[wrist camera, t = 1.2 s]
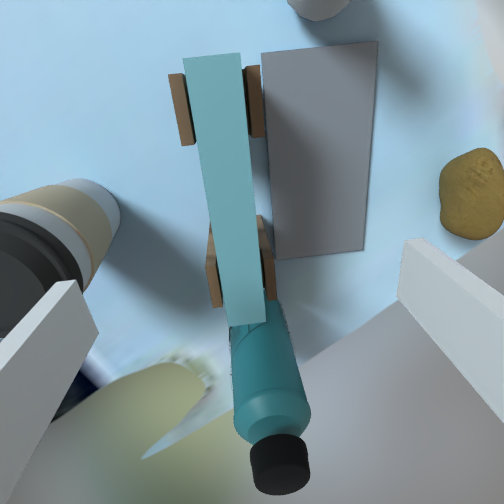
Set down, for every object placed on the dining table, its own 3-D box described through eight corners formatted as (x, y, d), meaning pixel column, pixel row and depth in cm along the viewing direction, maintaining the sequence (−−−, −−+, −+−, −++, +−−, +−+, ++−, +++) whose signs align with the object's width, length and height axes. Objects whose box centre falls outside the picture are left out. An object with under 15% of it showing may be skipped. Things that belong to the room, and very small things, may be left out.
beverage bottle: (233, 277, 36) (242, 452, 18) (286, 284, 37) (344, 456, 19) (223, 320, 39) (223, 509, 21) (274, 326, 40) (314, 510, 22)
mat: (275, 258, 35) (276, 260, 35) (261, 53, 26) (261, 53, 26) (360, 247, 36) (362, 249, 35) (375, 41, 27) (378, 40, 26)
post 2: (215, 253, 34) (213, 308, 26) (210, 220, 33) (205, 266, 24) (263, 247, 35) (277, 299, 26) (260, 214, 33) (273, 258, 24)
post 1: (194, 130, 29) (181, 146, 20) (186, 82, 27) (167, 74, 18) (252, 124, 29) (264, 136, 20) (247, 75, 27) (259, 64, 18)
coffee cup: (116, 161, 29) (25, 214, 16) (142, 245, 33) (89, 344, 20) (21, 174, 29) (-152, 240, 16) (59, 257, 33) (-51, 365, 20)
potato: (439, 229, 36) (493, 262, 28) (397, 192, 33) (444, 218, 26) (490, 180, 33) (562, 203, 26) (448, 136, 31) (516, 148, 24)
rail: (227, 297, 28) (228, 326, 24) (190, 65, 19) (182, 58, 16) (260, 292, 28) (266, 321, 24) (237, 60, 20) (240, 52, 16)
